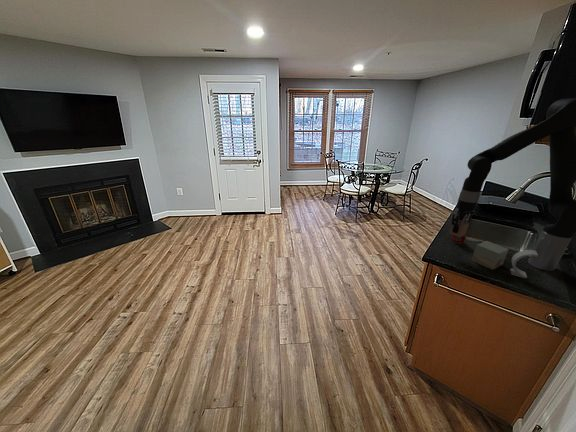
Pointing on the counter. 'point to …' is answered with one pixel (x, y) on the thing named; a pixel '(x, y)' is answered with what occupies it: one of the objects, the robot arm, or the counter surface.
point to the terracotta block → (460, 229)
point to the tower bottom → (487, 261)
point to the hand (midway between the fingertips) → (458, 231)
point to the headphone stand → (518, 256)
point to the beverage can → (458, 239)
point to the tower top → (491, 251)
